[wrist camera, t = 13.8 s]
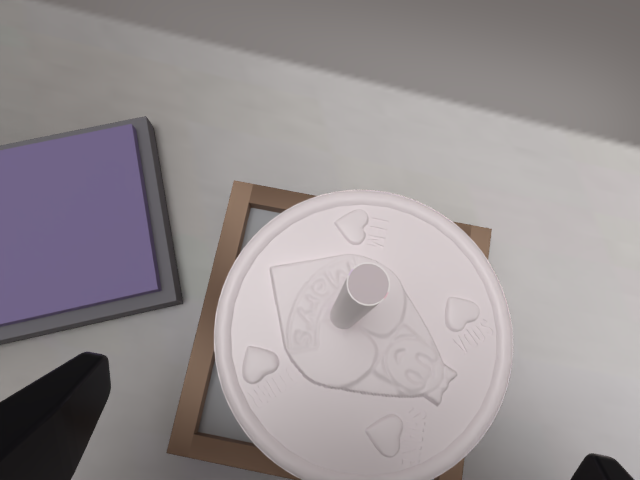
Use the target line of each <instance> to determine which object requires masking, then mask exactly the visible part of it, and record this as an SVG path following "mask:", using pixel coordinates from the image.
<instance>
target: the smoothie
mask: <svg viewBox="0 0 640 480" xmlns="http://www.w3.org/2000/svg"><path fill="white" fill-rule="evenodd" d="M214 352H215V362H216V367H217V372H218V377H219V380H220V384H221V387H222V390H223V393H224V395H225V398H226V400H227V403H228V405H229V407H230V409H231V411H232V413H233V415H234V417H235V418H236V420H237V422H238V423H239V425H240V426H241V428H242V429H243V431H244V432H245V433H246V435H247V436H248V437H249V438H250V440H251V441H252V442H253V443H254V444H255V445H256V446H257V447H258V448H259V449H260V450H261V451H262V452H263V453H264V454H265V455H266V456H267V457H268V458H269V459H270V460H272V461H273V462H274V463H275V464H277V465H278V466H279V467H281V468H282V469H284V470H285V471H287V472H289V473H290V474H292V475H294V476H295V477H297V478H299V479H301V480H432V479H434V478H436V477H438V476H439V475H441V474H443V473H444V472H446V471H447V470H449V469H450V468H452V467H453V466H455V465H456V464H457V463H458V462H459V461H461V460H462V459H463V458H464V457H465V456H467V454H468V453H469V452H470V451H471V450H472V449H473V448H474V447H475V446H476V445H477V444H478V443H479V441H480V440H481V439H482V438H483V436H484V435H485V434H486V432H487V431H488V429H489V428H490V426H491V424H492V423H493V421H494V419H495V417H496V415H497V413H498V411H499V409H500V407H501V405H502V402H503V400H504V397H505V394H506V391H507V387H508V384H509V380H510V375H511V369H512V362H513V330H512V322H511V316H510V312H509V307H508V303H507V300H506V297H505V294H504V291H503V288H502V286H501V284H500V282H499V279H498V277H497V275H496V273H495V271H494V270H493V268H492V266H491V264H490V263H489V261H488V260H487V258H486V257H485V255H484V254H483V252H482V251H481V250H480V248H479V247H478V246H477V245H476V244H475V242H474V241H473V240H472V239H471V238H470V237H469V236H468V235H467V234H466V233H465V232H464V231H463V230H462V229H461V228H460V227H458V226H457V225H456V224H455V223H454V222H453V221H451V220H450V219H448V218H447V217H445V216H444V215H443V214H441V213H440V212H438V211H436V210H434V209H433V208H431V207H429V206H427V205H425V204H423V203H420V202H418V201H416V200H413V199H410V198H408V197H405V196H401V195H397V194H394V193H389V192H383V191H377V190H345V191H337V192H332V193H327V194H323V195H319V196H316V197H313V198H310V199H308V200H305V201H303V202H301V203H298V204H296V205H294V206H292V207H291V208H289V209H287V210H285V211H283V212H282V213H281V214H279V215H278V216H276V217H275V218H273V219H272V220H271V221H270V222H268V223H267V224H266V225H265V226H264V227H262V228H261V229H260V230H259V231H258V232H257V233H256V234H255V235H254V236H253V237H252V239H251V240H250V241H249V242H248V243H247V245H246V246H245V247H244V248H243V250H242V251H241V253H240V254H239V256H238V257H237V259H236V260H235V262H234V264H233V266H232V268H231V269H230V271H229V273H228V276H227V278H226V280H225V283H224V285H223V288H222V291H221V294H220V298H219V301H218V306H217V311H216V316H215V326H214Z"/></svg>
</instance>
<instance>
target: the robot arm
mask: <svg viewBox="0 0 640 480" xmlns="http://www.w3.org/2000/svg"><path fill="white" fill-rule="evenodd" d="M110 390H111V381H110V371H109V362H108V358H107V357H106V356H105V355H102V354H97V353H92V352H84V353H81V354H79V355H78V356H76V357H74V358H73V359H71V360H69V361H68V362H66V363H64V364H63V365H61V366H59V367H58V368H56V369H54V370H53V371H51V372H49V373H48V374H46V375H44V376H43V377H41V378H40V379H38V380H36V381H35V382H33V383H31V384H30V385H28V386H26V387H25V388H23V389H21V390H20V391H18V392H16V393H15V394H13V395H11V396H10V397H8V398H6V399H5V400H3V401H1V402H0V480H71V478H72V476H73V474H74V472H75V470H76V468H77V466H78V464H79V462H80V460H81V457H82V455H83V453H84V451H85V449H86V446H87V444H88V442H89V440H90V437H91V435H92V433H93V431H94V429H95V426H96V424H97V422H98V420H99V417H100V415H101V413H102V411H103V408H104V406H105V404H106V402H107V400H108V397H109V394H110ZM571 480H634V479H633V478H632V477H631V476H630V475H629V474H628V472H627V471H626V470H625V469H624V468H623V467H622V466H621V465H620V464H619V463H618V462H617V461H616V460H615V459H614V458H612V457H608V456H603V455H599V454H594V453H591V454H589V455H587V456H586V457H585V458H584V460H583V461H582V463H581V464H580V466H579V467H578V469H577V470H576V472H575V473H574V475H573V476H572V478H571Z"/></svg>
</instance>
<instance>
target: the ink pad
mask: <svg viewBox="0 0 640 480" xmlns="http://www.w3.org/2000/svg"><path fill="white" fill-rule="evenodd" d="M182 303H183V301H182V295H181V289H180V283H179V277H178V271H177V265H176V259H175V253H174V247H173V241H172V235H171V229H170V224H169V218H168V212H167V206H166V200H165V194H164V188H163V182H162V176H161V170H160V164H159V158H158V152H157V146H156V140H155V134H154V128H153V126H152V124H151V123H150V121H149V120H148V118H147V117H146V116H145V117H140V118H135V119H130V120H125V121H120V122H115V123H110V124H105V125H100V126H95V127H90V128H85V129H80V130H75V131H70V132H65V133H60V134H55V135H50V136H45V137H40V138H35V139H30V140H25V141H21V142H16V143H11V144H6V145H1V146H0V345H1V344H5V343H10V342H14V341H19V340H23V339H28V338H32V337H36V336H41V335H45V334H50V333H54V332H58V331H63V330H67V329H72V328H76V327H81V326H85V325H89V324H94V323H98V322H103V321H107V320H112V319H116V318H120V317H125V316H129V315H134V314H138V313H143V312H147V311H151V310H156V309H160V308H165V307H169V306H174V305H178V304H182Z"/></svg>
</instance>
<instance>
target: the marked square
mask: <svg viewBox="0 0 640 480" xmlns="http://www.w3.org/2000/svg"><path fill="white" fill-rule="evenodd" d="M313 197H316V196H314V195H309V194H303V193H298V192H293V191H287V190H282V189H277V188H271V187H266V186H261V185H256V184H250V183H245V182H240V181H234V183H233V187H232V191H231V195H230V199H229V203H228V207H227V211H226V215H225V219H224V223H223V227H222V231H221V235H220V239H219V243H218V247H217V251H216V255H215V259H214V263H213V267H212V271H211V275H210V279H209V283H208V287H207V292H206V296H205V300H204V304H203V308H202V312H201V316H200V320H199V324H198V328H197V332H196V336H195V340H194V344H193V348H192V352H191V356H190V360H189V364H188V368H187V372H186V376H185V380H184V384H183V388H182V392H181V396H180V400H179V404H178V408H177V412H176V416H175V420H174V425H173V429H172V433H171V437H170V441H169V445H168V449H167V453H169V454H174V455H178V456H183V457H188V458H193V459H198V460H203V461H207V462H212V463H217V464H222V465H227V466H231V467H236V468H241V469H246V470H251V471H255V472H260V473H265V474H270V475H275V476H279V477H284V478H289V479H294V480H301V479H299V478H297V477H295V476H294V475H292V474H290V473H289V472H287V471H285V470H284V469H282V468H281V467H279V466H278V465H277V464H275V463H274V462H273V461H272V460H270V459H269V458H268V457H267V456H266V455H265V454H264V453H263V452H262V451H261V450H260V449H259V448H258V447H257V446H256V445H255V444H254V443H253V442H252V441H251V440H250V438H249V437H248V436H247V435H246V433H245V432H244V431H243V429H242V428H241V426H240V425H239V423H238V422H237V420H236V418H235V417H234V415H233V413H232V411H231V409H230V407H229V405H228V403H227V400H226V398H225V395H224V393H223V390H222V387H221V384H220V380H219V377H218V372H217V367H216V362H215V352H214V326H215V316H216V311H217V306H218V301H219V298H220V294H221V291H222V288H223V285H224V283H225V280H226V278H227V276H228V273H229V271H230V269H231V268H232V266H233V264H234V262H235V260H236V259H237V257H238V256H239V254H240V253H241V251H242V250H243V248H244V247H245V246H246V245H247V243H248V242H249V241H250V240H251V239H252V237H253V236H254V235H255V234H256V233H257V232H258V231H259V230H260V229H261V228H262V227H264V226H265V225H266V224H267V223H268V222H270V221H271V220H272V219H273V218H275V217H276V216H278V215H279V214H281V213H282V212H283V211H285V210H287V209H289V208H291V207H292V206H294V205H296V204H298V203H301V202H303V201H305V200H308V199H310V198H313ZM454 223H455V224H456V225H457V226H458V227H460V228H461V229H462V230H463V231H464V232H465V233H466V234H467V235H468V236H469V237H470V238H471V239H472V240H473V241H474V242H475V244H476V245H477V246H478V247H479V248H480V250H481V251H482V252H483V254H484V255H485V257H486V258H487V260H488V255H489V247H490V238H491V230H492V229H489V228H484V227H478V226H473V225H468V224H462V223H457V222H454ZM464 458H465V457H464ZM464 458H463V459H462V460H461V461H459V462H458V463H457V464H456V465H455V466H453V467H452V468H450V469H449V470H447V471H446V472H444V473H443V474H441V475H439V476H438V477H436V478H434V479H432V480H462V474H463V466H464Z"/></svg>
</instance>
